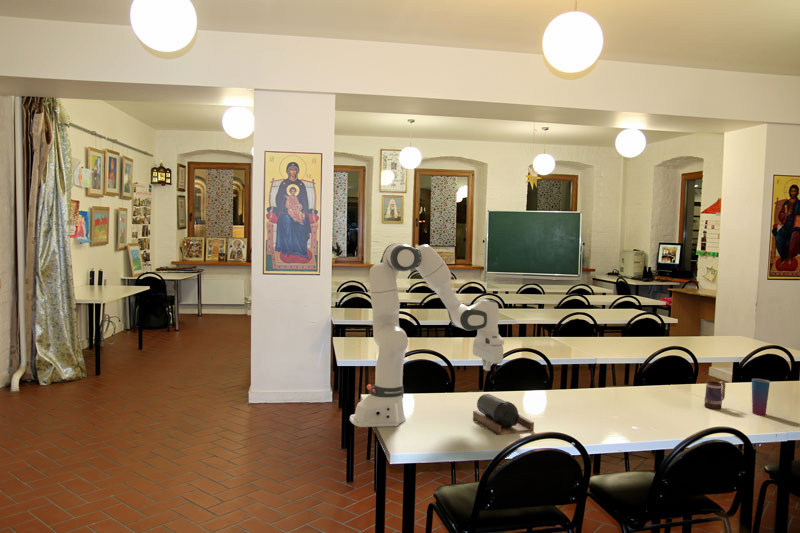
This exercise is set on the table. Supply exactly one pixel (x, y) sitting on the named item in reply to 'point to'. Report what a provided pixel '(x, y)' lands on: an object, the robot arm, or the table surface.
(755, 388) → the cup
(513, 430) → the cradle
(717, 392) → the mug
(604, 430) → the table surface
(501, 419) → the water bottle
